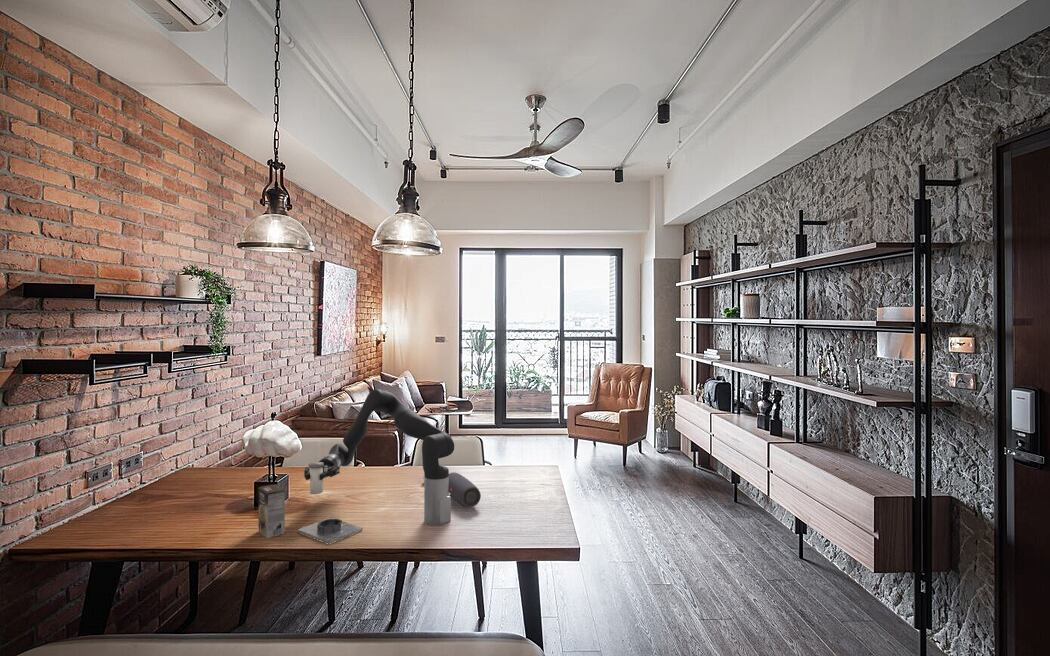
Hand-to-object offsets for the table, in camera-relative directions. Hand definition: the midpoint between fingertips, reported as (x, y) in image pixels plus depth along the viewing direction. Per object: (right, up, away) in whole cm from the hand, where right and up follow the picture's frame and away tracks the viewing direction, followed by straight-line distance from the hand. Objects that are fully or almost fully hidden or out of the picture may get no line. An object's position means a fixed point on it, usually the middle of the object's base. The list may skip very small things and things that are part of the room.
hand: (313, 477), depth 198 cm
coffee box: (-11, -17, -10) cm, 23 cm away
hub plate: (+10, -17, -9) cm, 22 cm away
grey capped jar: (0, -6, +3) cm, 7 cm away
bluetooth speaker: (+53, -17, +23) cm, 61 cm away
